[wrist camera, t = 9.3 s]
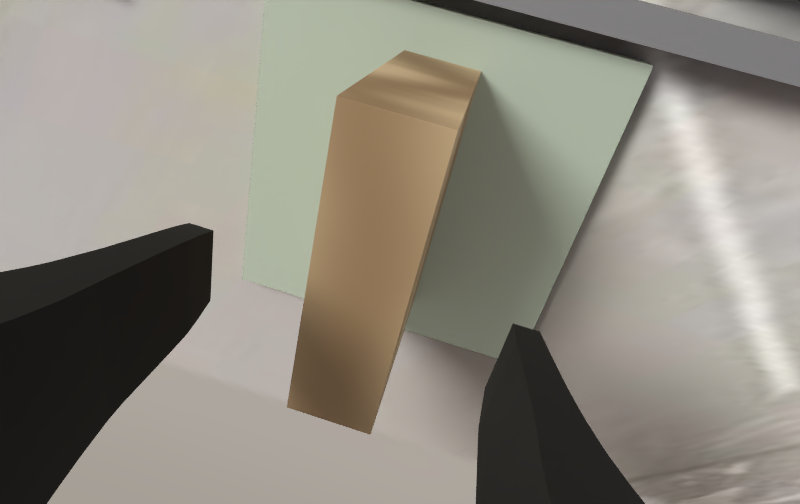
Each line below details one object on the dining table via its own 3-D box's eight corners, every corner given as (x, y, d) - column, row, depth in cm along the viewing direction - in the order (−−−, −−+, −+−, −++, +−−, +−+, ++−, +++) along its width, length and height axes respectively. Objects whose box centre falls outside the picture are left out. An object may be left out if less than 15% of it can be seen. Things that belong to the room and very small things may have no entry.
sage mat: (649, 62, 16) (653, 65, 15) (517, 355, 22) (517, 365, 21) (275, -38, 16) (267, -39, 16) (248, 272, 22) (241, 279, 22)
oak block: (481, 71, 16) (457, 130, 10) (414, 299, 21) (370, 434, 15) (404, 50, 16) (336, 95, 10) (354, 281, 21) (286, 407, 15)
